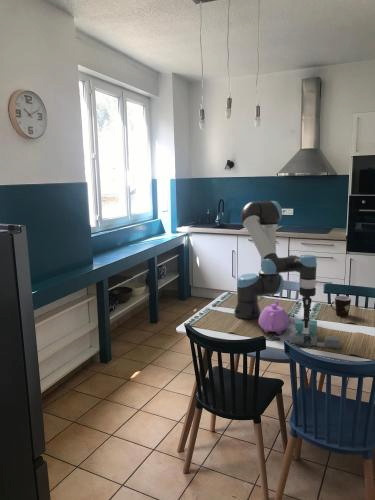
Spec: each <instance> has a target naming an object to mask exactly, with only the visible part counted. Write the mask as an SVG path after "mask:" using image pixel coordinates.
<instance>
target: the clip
mask: <svg viewBox="0 0 375 500" xmlns="http://www.w3.org/2000/svg"><path fill="white" fill-rule="evenodd" d="M302 319H303V318H302ZM302 319H301V318H295V323H294V324H295V326H294V328H295V329H294V331H295V332H296V333H300V334H303V321H302ZM317 331H318V321H317V320H312V319H310V320H309V339H311V335H315V334H317V333H318V332H317Z"/></svg>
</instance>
